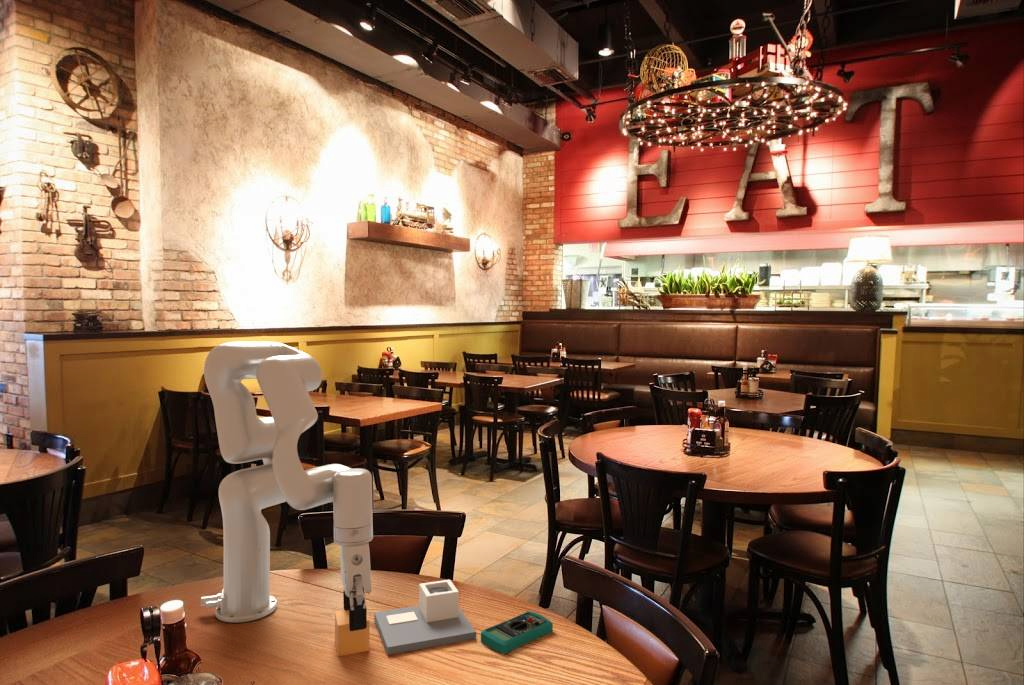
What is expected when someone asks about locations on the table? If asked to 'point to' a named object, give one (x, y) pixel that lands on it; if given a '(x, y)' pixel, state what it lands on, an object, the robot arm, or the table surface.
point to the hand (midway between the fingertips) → (354, 618)
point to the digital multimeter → (516, 632)
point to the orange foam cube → (349, 636)
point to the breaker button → (437, 590)
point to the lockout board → (425, 621)
